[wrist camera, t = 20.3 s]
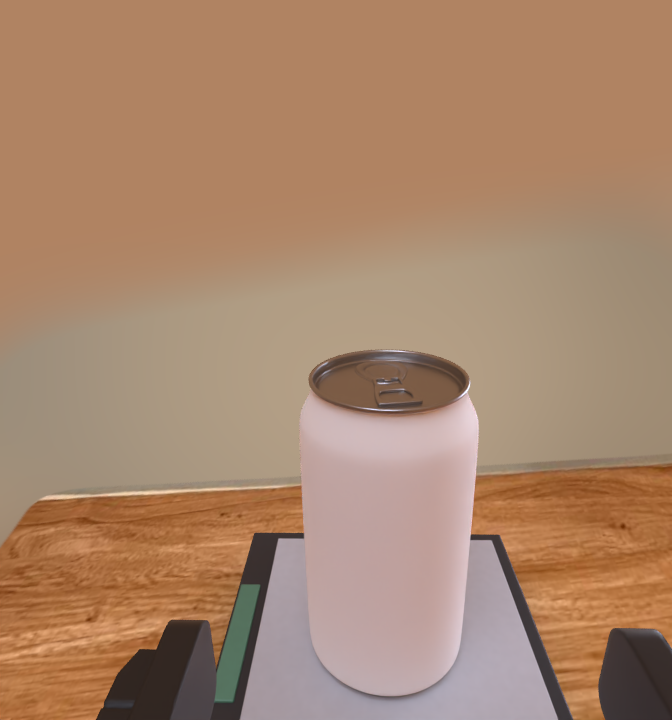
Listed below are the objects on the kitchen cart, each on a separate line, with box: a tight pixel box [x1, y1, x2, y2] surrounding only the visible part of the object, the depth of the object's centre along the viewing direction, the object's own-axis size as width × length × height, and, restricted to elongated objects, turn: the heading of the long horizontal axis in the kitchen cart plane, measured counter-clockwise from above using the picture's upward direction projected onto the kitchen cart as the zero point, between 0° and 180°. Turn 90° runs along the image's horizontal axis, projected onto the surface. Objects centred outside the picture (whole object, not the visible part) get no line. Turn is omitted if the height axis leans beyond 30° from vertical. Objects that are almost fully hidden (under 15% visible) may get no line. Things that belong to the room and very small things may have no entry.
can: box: [299, 350, 479, 696], centre depth 20 cm, size 6×6×12 cm
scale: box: [210, 533, 573, 720], centre depth 23 cm, size 14×14×3 cm
